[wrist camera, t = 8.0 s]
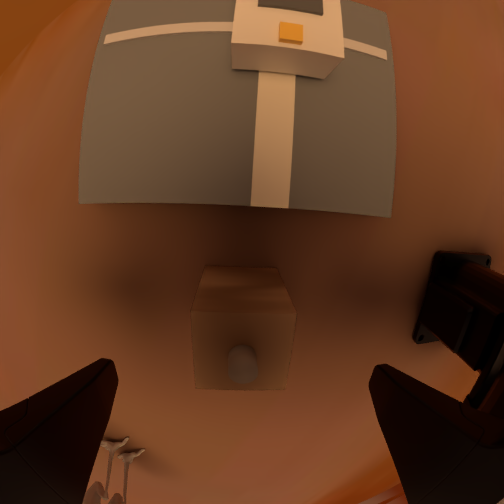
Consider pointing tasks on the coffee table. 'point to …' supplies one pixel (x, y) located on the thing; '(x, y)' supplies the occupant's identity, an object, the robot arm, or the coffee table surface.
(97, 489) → the figurine
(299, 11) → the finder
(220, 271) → the wooden knobbed box
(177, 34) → the board
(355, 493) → the coffee table surface
